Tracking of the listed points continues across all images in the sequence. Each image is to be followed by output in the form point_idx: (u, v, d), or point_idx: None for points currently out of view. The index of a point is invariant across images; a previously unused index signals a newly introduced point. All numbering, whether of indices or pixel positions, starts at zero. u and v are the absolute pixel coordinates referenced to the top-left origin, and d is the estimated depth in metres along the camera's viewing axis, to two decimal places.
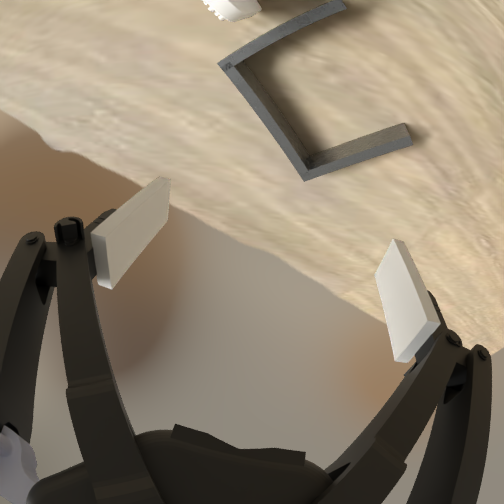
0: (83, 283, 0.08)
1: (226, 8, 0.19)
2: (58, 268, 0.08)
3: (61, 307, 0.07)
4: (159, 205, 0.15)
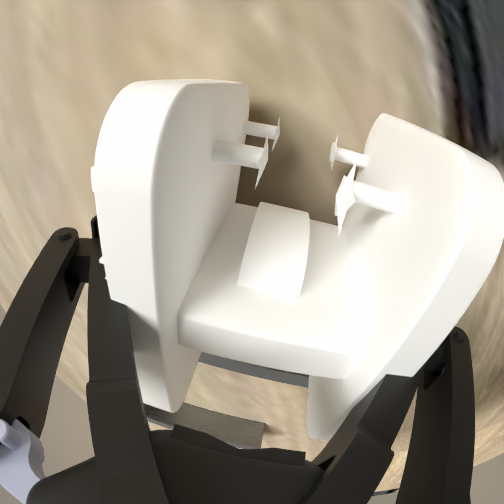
0: None
1: (159, 407, 0.12)
2: (92, 262, 0.09)
3: (91, 301, 0.08)
4: None
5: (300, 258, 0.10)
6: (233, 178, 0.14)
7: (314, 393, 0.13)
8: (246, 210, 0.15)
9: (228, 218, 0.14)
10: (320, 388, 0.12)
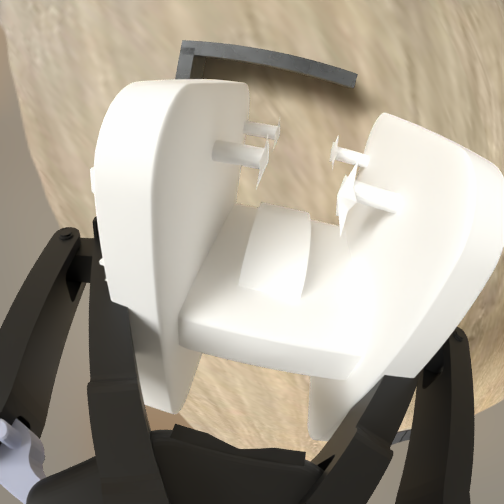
0: None
1: (160, 408, 0.12)
2: (93, 262, 0.09)
3: (92, 301, 0.08)
4: None
5: (301, 259, 0.10)
6: (233, 178, 0.14)
7: (316, 394, 0.13)
8: (246, 210, 0.15)
9: (229, 218, 0.14)
10: (322, 389, 0.12)
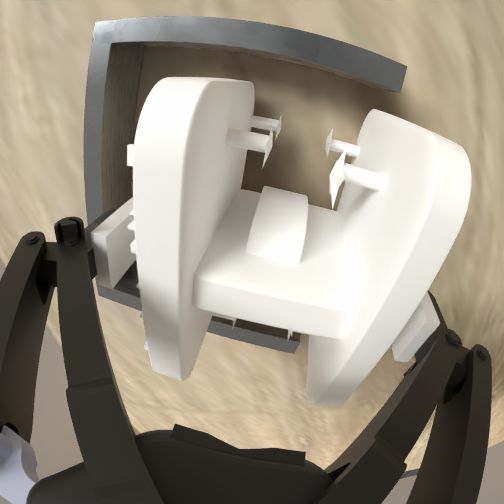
0: (83, 283, 0.08)
1: (169, 375, 0.14)
2: (58, 268, 0.08)
3: (61, 307, 0.07)
4: None
5: (300, 230, 0.12)
6: (240, 165, 0.15)
7: (313, 361, 0.14)
8: (250, 194, 0.17)
9: (235, 200, 0.16)
10: (319, 354, 0.14)
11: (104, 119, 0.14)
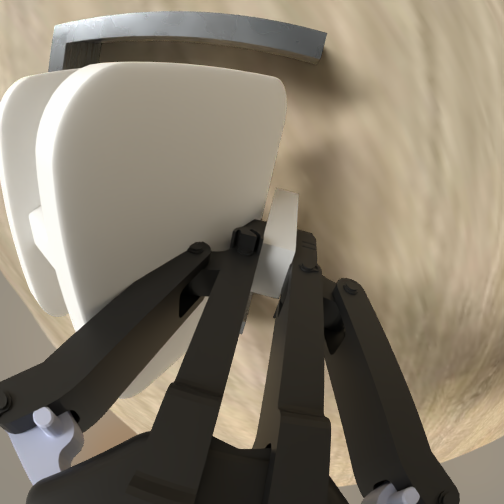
0: (240, 296, 0.09)
1: None
2: (221, 271, 0.10)
3: (208, 308, 0.09)
4: None
5: None
6: None
7: None
8: None
9: None
10: None
11: None
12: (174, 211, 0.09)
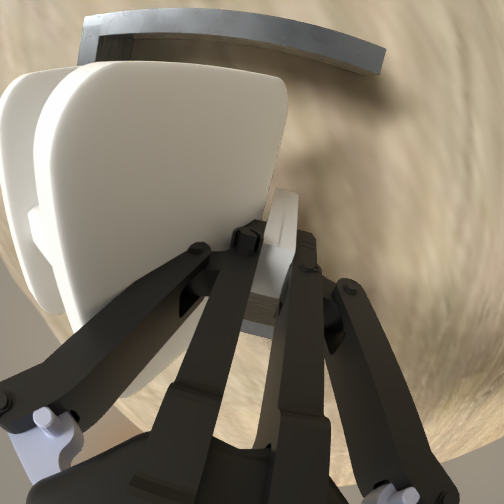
0: (241, 296, 0.09)
1: None
2: (222, 271, 0.10)
3: (208, 308, 0.09)
4: None
5: None
6: None
7: None
8: None
9: None
10: None
11: None
12: (173, 211, 0.09)
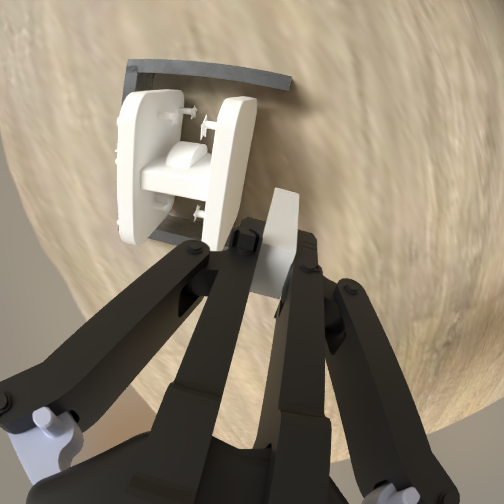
0: (239, 295, 0.09)
1: (128, 238, 0.26)
2: (221, 270, 0.10)
3: (207, 308, 0.09)
4: None
5: (190, 153, 0.24)
6: (173, 133, 0.28)
7: None
8: None
9: None
10: None
11: None
12: (242, 151, 0.24)
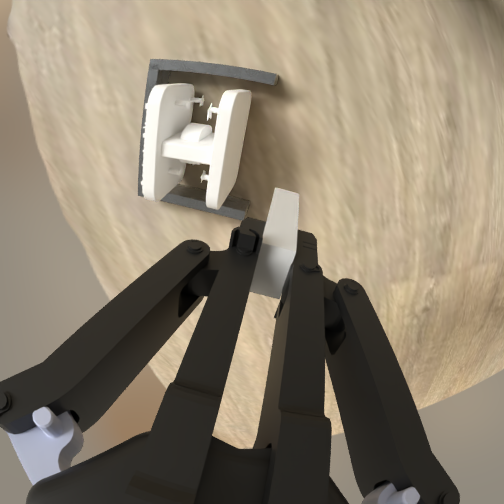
0: (240, 295, 0.09)
1: (149, 194, 0.34)
2: (221, 270, 0.10)
3: (207, 308, 0.09)
4: None
5: (199, 131, 0.32)
6: (186, 116, 0.35)
7: None
8: None
9: None
10: None
11: None
12: (237, 129, 0.31)
